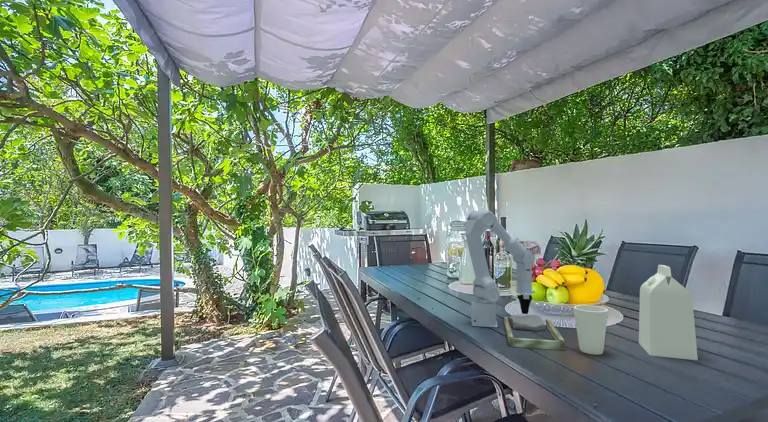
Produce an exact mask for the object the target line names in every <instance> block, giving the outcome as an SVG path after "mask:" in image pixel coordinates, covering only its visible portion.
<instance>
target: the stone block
mask: <svg viewBox="0 0 768 422" xmlns="http://www.w3.org/2000/svg"><path fill="white" fill-rule="evenodd" d="M508 321H509V325H510V327H512V329H513V330H521V331H532V332H533V331H534V332H542V331H543V332H544V331H546V324H545V321H544V320H543V319H542V317H541V316H540V315H538V314H525V315H523V316H516V315H510V316H509V318H508Z"/></svg>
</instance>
